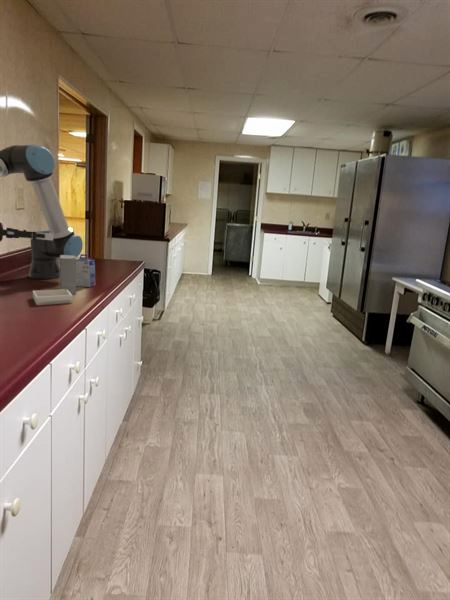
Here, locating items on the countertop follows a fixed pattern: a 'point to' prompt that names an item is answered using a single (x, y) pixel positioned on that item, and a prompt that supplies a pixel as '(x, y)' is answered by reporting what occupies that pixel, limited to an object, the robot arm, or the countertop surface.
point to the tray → (52, 296)
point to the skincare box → (68, 273)
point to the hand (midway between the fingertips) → (47, 236)
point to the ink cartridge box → (85, 272)
